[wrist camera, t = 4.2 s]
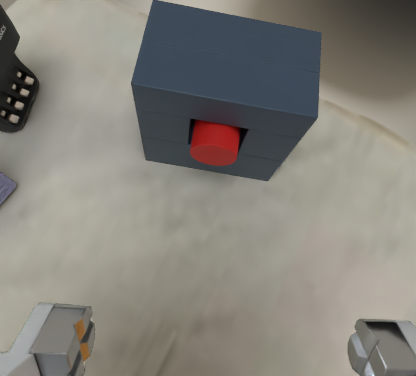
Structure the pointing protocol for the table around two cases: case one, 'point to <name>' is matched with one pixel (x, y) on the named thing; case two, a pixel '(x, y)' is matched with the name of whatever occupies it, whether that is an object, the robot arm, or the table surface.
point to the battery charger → (13, 80)
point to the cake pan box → (5, 187)
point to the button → (215, 143)
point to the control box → (224, 86)
